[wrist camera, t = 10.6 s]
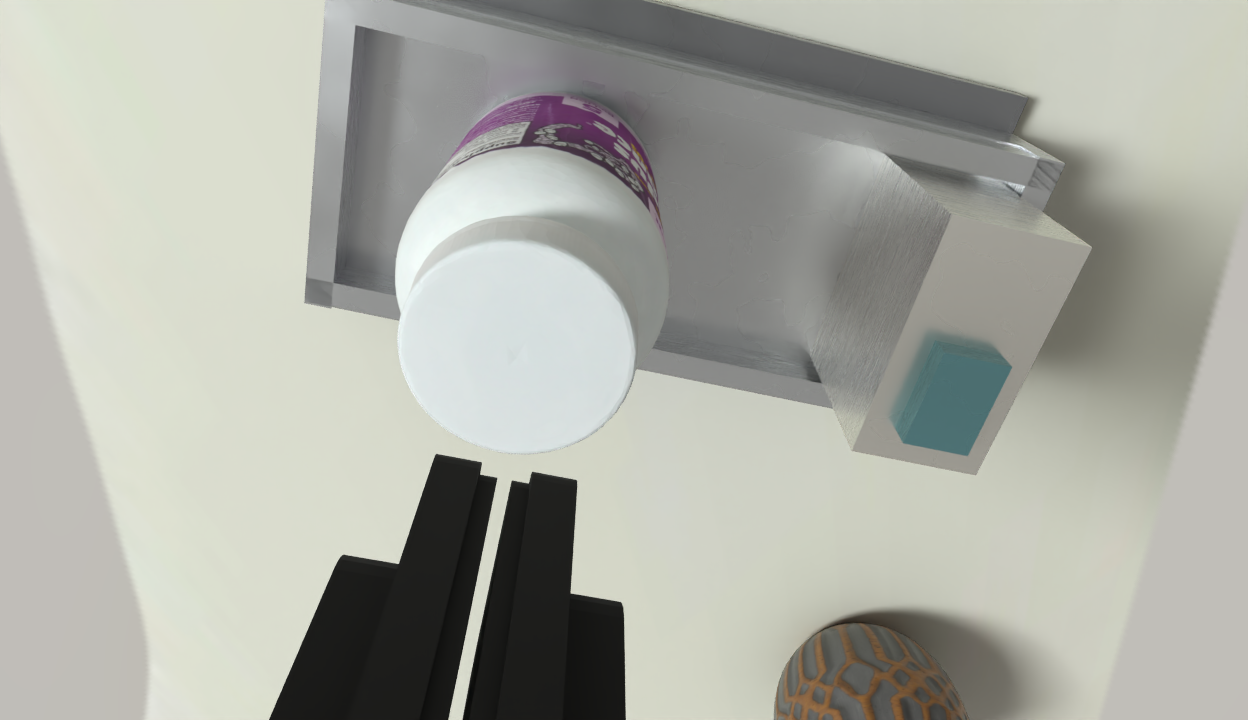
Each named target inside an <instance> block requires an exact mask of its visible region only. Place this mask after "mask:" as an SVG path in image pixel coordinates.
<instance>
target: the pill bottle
mask: <svg viewBox="0 0 1248 720" xmlns="http://www.w3.org/2000/svg"><path fill="white" fill-rule="evenodd" d="M395 287H396V296H397V301H398V305H399V309H400V312H401V316H400V320H399V327H398V344H397V345H398V352H399V360H400V364H401V368H402V371H403V374H404V377H405V379H406V382H407V384H408V386H409V388H410V390H411V392H412V394H413V395H414V396H415V397H416V399H417V401H418V403H419V404H420V405H421V406H422V408H423V409H424V410H425V411H426V412H427V414H428V415H429V416H431V417H432V418H433V419H434V420H435V421H436V422H437V423H438V424H439V425H441V426H442V427H443V428H445V429H446V430H447V431H449V432H450V433H452V434H454V435H455V436H457V437H459V438H461V439H463V440H465V441H467V442H469V443H472V444H474V445H477V446H479V447H482V448H485V449H488V450H493V451H496V452H500V453H508V454H524V455H526V454H536V453H545V452H551V451H554V450H558V449H561V448H565V447H568V446H570V445H573V444H575V443H577V442H579V441H581V440H584V439H585V438H587V437H589V436H590V435H592V434H593V433H595V432H596V431H598V430H599V429H600V428H601V427H603V426H604V425H605V423H606V422H607V421H608V420H609V419H611V418H612V416H613V415H614V414H615V413H616V412H617V410H618V409H619V407H620V406H621V404H622V403H623V401H624V400H625V398H626V396H627V394H628V391H629V389H630V387H631V384H632V381H633V378H634V374H635V371H636V369H637V368H638V367H639V366H640V365H641V363H642V362H643V361H644V360H645V358H646V357H647V355H648V354H649V352H650V351H651V349H652V348H653V346H654V344H655V342H656V340H657V338H658V336H659V334H660V331H661V328H662V326H663V323H664V319H665V315H666V310H667V306H668V299H669V263H668V256H667V251H666V243H665V237H664V231H663V224H662V219H661V212H660V206H659V200H658V193H657V188H656V184H655V179H654V174H653V170H652V166H651V162H650V159H649V157H648V154H647V152H646V150H645V148H644V146H643V144H642V142H641V141H640V139H639V138H638V136H637V135H636V134H635V132H634V131H633V130H632V128H631V127H630V126H629V125H628V124H627V123H626V122H625V121H624V120H623V119H622V118H621V117H620V116H619V115H617V114H616V113H615V112H613V111H612V110H611V109H609V108H608V107H606V106H604V105H603V104H601V103H599V102H598V101H596V100H593V99H590V98H588V97H585V96H582V95H578V94H574V93H569V92H564V91H539V92H533V93H528V94H523V95H520V96H517V97H514V98H511V99H509V100H507V101H505V102H503V103H501V104H499V105H498V106H496V107H495V108H493V109H492V110H490V111H489V112H488V113H487V114H485V115H484V116H483V117H482V118H481V119H480V120H479V121H478V122H477V123H476V124H475V125H474V126H473V128H472V129H471V130H470V131H469V132H468V133H467V135H466V136H465V138H464V139H463V140H462V142H461V143H460V144H459V145H458V147H457V149H456V150H455V152H454V153H453V154H452V156H451V157H450V159H449V160H448V162H447V163H446V165H445V166H444V168H443V169H442V170H441V172H440V173H439V175H438V176H437V178H436V179H435V180H434V182H433V183H432V184H431V186H430V187H429V188H428V190H427V191H426V192H425V194H424V195H423V196H422V198H421V199H420V200H419V202H418V203H417V205H416V206H415V208H414V210H413V212H412V214H411V215H410V217H409V219H408V221H407V224H406V226H405V229H404V232H403V234H402V237H401V240H400V243H399V247H398V251H397V257H396V267H395Z"/></svg>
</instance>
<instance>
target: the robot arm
mask: <svg viewBox="0 0 1248 720" xmlns="http://www.w3.org/2000/svg"><path fill="white" fill-rule="evenodd" d="M481 466H482V462H477V461H471V460H466V459H460V458H455V457H450V456H444V455H439V454H436V455H435V458H434V460H433V463H432V466H431V469H430V472H429V475H428V478H427V481H426V484H425V487H424V490H423V493H422V496H421V499H420V502H419V505H418V508H417V511H416V514H415V517H414V520H413V523H412V526H411V529H410V532H409V535H408V538H407V541H406V544H405V547H404V550H403V553H402V556H401V559H400V562H399V564H395V563H389V562H383V561H377V560H371V559H365V558H359V557H354V556H348V555H342V556H341V557H340V559H339V560H338V562H337V564H336V566H335V568H334V570H333V573H332V575H331V577H330V580H329V582H328V584H327V586H326V589H325V591H324V593H323V596H322V598H321V600H320V603H319V605H318V607H317V610H316V612H315V614H314V617H313V619H312V621H311V624H310V626H309V628H308V631H307V633H306V635H305V638H304V640H303V642H302V645H301V647H300V649H299V652H298V654H297V656H296V658H295V661H294V663H293V665H292V668H291V670H290V672H289V675H288V677H287V679H286V682H285V684H284V686H283V689H282V691H281V693H280V696H279V698H278V700H277V703H276V705H275V707H274V710H273V712H272V714H271V717H270V719H269V720H448V718H449V713H450V708H451V704H452V699H453V694H454V689H455V684H456V679H457V674H458V670H459V665H460V660H461V655H462V650H463V645H464V640H465V635H466V630H467V625H468V620H469V615H470V611H471V606H472V601H473V596H474V591H475V586H476V581H477V576H478V571H479V566H480V561H481V556H482V551H483V546H484V541H485V536H486V532H487V527H488V522H489V517H490V512H491V507H492V502H493V497H494V492H495V487H496V482H497V478H495V477H490V476H484V475H480V471H481ZM576 496H577V480H573V479H568V478H563V477H557V476H552V475H546V474H541V473H536V472H532V474H531V478H530V482H529V484H527V483H522V482H517V481H512V483H511V487H510V492H509V496H508V501H507V506H506V511H505V515H504V520H503V525H502V529H501V534H500V539H499V544H498V548H497V553H496V558H495V562H494V567H493V572H492V577H491V581H490V586H489V591H488V595H487V600H486V605H485V610H484V614H483V619H482V624H481V628H480V633H479V638H478V643H477V647H476V652H475V657H474V662H473V667H472V672H471V678H470V683H469V688H468V694H467V699H466V704H465V710H464V715H463V720H626V711H625V649H624V612H623V606H622V603H621V602H617V601H611V600H605V599H599V598H594V597H588V596H582V595H576V594H570V591H571V575H572V559H573V543H574V528H575V512H576Z"/></svg>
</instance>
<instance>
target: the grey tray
mask: <svg viewBox="0 0 1248 720" xmlns="http://www.w3.org/2000/svg"><path fill="white" fill-rule="evenodd" d="M539 91H564V92H569V93H574V94H578V95H582V96H585V97H588V98H590V99H593V100H596V101H598V102H599V103H601V104H603V105H604V106H606V107H608V108H609V109H611V110H612V111H613V112H615V113H616V114H617V115H619V116H620V117H621V118H622V119H623V120H624V121H625V122H626V123H627V124H628V125H629V126H630V127H631V128H632V130H633V131H634V132H635V134H636V135H637V136H638V138H639V139H640V141H641V142H642V144H643V146H644V148H645V150H646V152H647V154H648V157H649V159H650V162H651V166H652V170H653V174H654V179H655V184H656V188H657V193H658V200H659V206H660V212H661V219H662V224H663V231H664V237H665V243H666V251H667V256H668V263H669V299H668V306H667V310H666V315H665V319H664V323H663V326H662V328H661V331H660V334H659V336H658V338H657V340H656V342H655V344H654V346H653V348H652V349H651V351H650V352H649V354H648V355H647V357H646V358H645V360H644V361H643V362H642V363H641V365H640V366H639V367H638V368H637V369H640V370H645V371H650V372H655V373H660V374H665V375H670V376H675V377H680V378H685V379H690V380H694V381H699V382H704V383H709V384H714V385H719V386H724V387H729V388H734V389H739V390H744V391H749V392H754V393H758V394H763V395H768V396H773V397H778V398H783V399H788V400H793V401H798V402H803V403H808V404H813V405H818V406H823V407H827V408H832V409H834V412H835V414H836V416H837V418H838V421H839V423H840V425H841V428H842V430H843V432H844V434H845V437H846V439H847V441H848V444H849V446H850V448H851V450H852V451H855V452H861V453H866V454H871V455H876V456H881V457H886V458H891V459H896V460H901V461H906V462H911V463H916V464H921V465H926V466H931V467H936V468H942V469H947V470H952V471H957V472H962V473H967V474H972V475H976V474H977V472H978V470H979V468H980V466H981V464H982V462H983V460H984V458H985V457H986V455H987V453H988V451H989V449H990V447H991V445H992V443H993V441H994V439H995V437H996V435H997V433H998V431H999V429H1000V427H1001V425H1002V423H1003V421H1004V419H1005V418H1006V416H1007V414H1008V412H1009V410H1010V408H1011V406H1012V404H1013V402H1014V400H1015V398H1016V396H1017V394H1018V392H1019V390H1020V388H1021V386H1022V384H1023V382H1024V380H1025V378H1026V377H1027V375H1028V373H1029V371H1030V369H1031V367H1032V365H1033V363H1034V361H1035V359H1036V357H1037V355H1038V353H1039V351H1040V349H1041V347H1042V345H1043V343H1044V341H1045V339H1046V338H1047V336H1048V334H1049V332H1050V330H1051V328H1052V326H1053V324H1054V322H1055V320H1056V318H1057V316H1058V314H1059V312H1060V310H1061V308H1062V306H1063V304H1064V302H1065V300H1066V299H1067V297H1068V295H1069V293H1070V291H1071V289H1072V287H1073V285H1074V283H1075V281H1076V279H1077V277H1078V275H1079V273H1080V271H1081V269H1082V267H1083V265H1084V263H1085V261H1086V260H1087V258H1088V256H1089V254H1090V252H1091V250H1092V248H1093V247H1091V246H1090V245H1088V244H1087V243H1086V242H1084V241H1083V240H1081V239H1080V238H1078V237H1077V236H1076V235H1074V234H1073V233H1071V232H1070V231H1069V230H1067V229H1066V228H1064V227H1063V226H1061V225H1060V224H1059V223H1057V222H1056V221H1054V220H1053V219H1052V218H1050V217H1049V216H1047V215H1046V214H1044V213H1043V210H1044V208H1045V206H1046V204H1047V202H1048V200H1049V198H1050V195H1051V193H1052V191H1053V189H1054V187H1055V185H1056V183H1057V181H1058V179H1059V176H1060V174H1061V172H1062V170H1063V168H1064V166H1065V164H1066V163H1064V162H1062V161H1060V160H1058V159H1057V158H1055V157H1053V156H1051V155H1050V154H1048V153H1046V152H1044V151H1042V150H1041V149H1039V148H1037V147H1035V146H1034V145H1032V144H1030V143H1028V142H1026V141H1025V140H1023V139H1021V138H1019V137H1018V136H1016V135H1014V134H1013V131H1014V129H1015V127H1016V125H1017V122H1018V120H1019V118H1020V116H1021V113H1022V111H1023V109H1024V106H1025V104H1026V102H1027V100H1028V98H1027V97H1025V96H1023V95H1021V94H1019V93H1016V92H1012V91H1009V90H1005V89H1001V88H997V87H993V86H989V85H985V84H981V83H977V82H973V81H969V80H965V79H961V78H957V77H953V76H949V75H945V74H942V73H938V72H934V71H930V70H926V69H922V68H918V67H914V66H910V65H906V64H902V63H898V62H894V61H890V60H886V59H882V58H878V57H874V56H871V55H867V54H863V53H859V52H855V51H851V50H847V49H843V48H839V47H835V46H831V45H827V44H823V43H819V42H815V41H811V40H807V39H804V38H800V37H796V36H792V35H788V34H784V33H780V32H776V31H772V30H768V29H764V28H760V27H756V26H752V25H748V24H744V23H740V22H736V21H733V20H729V19H725V18H721V17H717V16H713V15H709V14H705V13H701V12H697V11H693V10H689V9H685V8H681V7H677V6H673V5H669V4H666V3H662V2H658V1H654V0H325V12H324V27H323V41H322V56H321V70H320V85H319V99H318V114H317V128H316V143H315V157H314V172H313V186H312V201H311V215H310V230H309V244H308V258H307V273H306V287H305V302H304V303H307V304H311V305H316V306H321V307H326V308H332V307H335V308H340V309H345V310H349V311H354V312H359V313H364V314H369V315H374V316H379V317H384V318H389V319H394V320H400V316H401V312H400V309H399V305H398V301H397V296H396V287H395V267H396V257H397V251H398V247H399V243H400V240H401V237H402V234H403V232H404V229H405V226H406V224H407V221H408V219H409V217H410V215H411V214H412V212H413V210H414V208H415V206H416V205H417V203H418V202H419V200H420V199H421V198H422V196H423V195H424V194H425V192H426V191H427V190H428V188H429V187H430V186H431V184H432V183H433V182H434V180H435V179H436V178H437V176H438V175H439V173H440V172H441V170H442V169H443V168H444V166H445V165H446V163H447V162H448V160H449V159H450V157H451V156H452V154H453V153H454V152H455V150H456V149H457V147H458V145H459V144H460V143H461V142H462V140H463V139H464V138H465V136H466V135H467V133H468V132H469V131H470V130H471V129H472V128H473V126H474V125H475V124H476V123H477V122H478V121H479V120H480V119H481V118H482V117H483V116H484V115H485V114H487V113H488V112H489V111H490V110H492V109H493V108H495V107H496V106H498V105H499V104H501V103H503V102H505V101H507V100H509V99H511V98H514V97H517V96H520V95H523V94H528V93H533V92H539Z"/></svg>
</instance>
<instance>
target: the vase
mask: <svg viewBox="0 0 1248 720" xmlns="http://www.w3.org/2000/svg"><path fill="white" fill-rule="evenodd" d="M774 720H969V718H968V715H967V713H966V710H965V708H964V705H963V703H962V701H961V699H960V697H959V695H958V693H957V691H956V689H955V688H954V686H953V684H952V682H951V680H950V679H949V677H948V676H947V674H946V673H945V672H944V670H943V669H942V668H941V667H940V665H939V664H938V663H937V662H936V661H935V660H934V659H933V658H932V656H931V655H930V654H929V653H928V652H927V651H926V650H924V649H923V648H922V647H921V646H919V645H918V644H917V643H916V642H914V641H913V640H912V639H910V638H909V637H907V636H905V635H903V634H901V633H898V632H896V631H894V630H892V629H889V628H886V627H883V626H879V625H873V624H867V623H846V624H840V625H836V626H832V627H830V628H827V629H825V630H823V631H821V632H819V633H817V634H816V635H814V636H813V637H811V638H810V639H809V640H807V641H806V642H805V643H804V644H803V645H801V646H800V647H799V648H798V649H797V650H796V652H795V653H794V654H793V656H792V657H791V658H790V660H789V661H788V663H787V664H786V666H785V668H784V670H783V672H782V675H781V678H780V681H779V684H778V687H777V692H776V698H775V705H774Z"/></svg>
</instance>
